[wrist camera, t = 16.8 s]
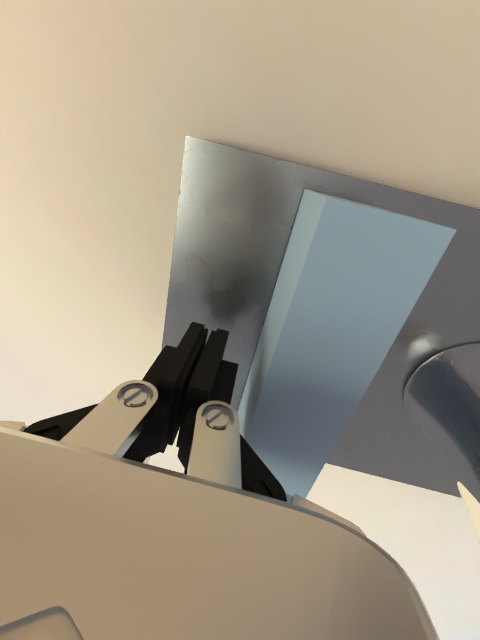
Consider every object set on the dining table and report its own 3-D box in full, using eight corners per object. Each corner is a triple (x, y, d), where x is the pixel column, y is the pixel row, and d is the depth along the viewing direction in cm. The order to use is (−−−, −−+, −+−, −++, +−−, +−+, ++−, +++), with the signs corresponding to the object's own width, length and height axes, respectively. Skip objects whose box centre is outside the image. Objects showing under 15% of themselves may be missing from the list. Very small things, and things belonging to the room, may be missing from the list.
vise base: (162, 402, 20) (104, 515, 13) (195, 139, 13) (103, 95, 6) (522, 494, 20) (646, 655, 13) (766, 284, 13) (1326, 405, 6)
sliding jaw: (230, 433, 18) (213, 531, 13) (304, 188, 11) (326, 196, 6) (277, 445, 18) (277, 548, 13) (377, 207, 11) (456, 229, 6)
